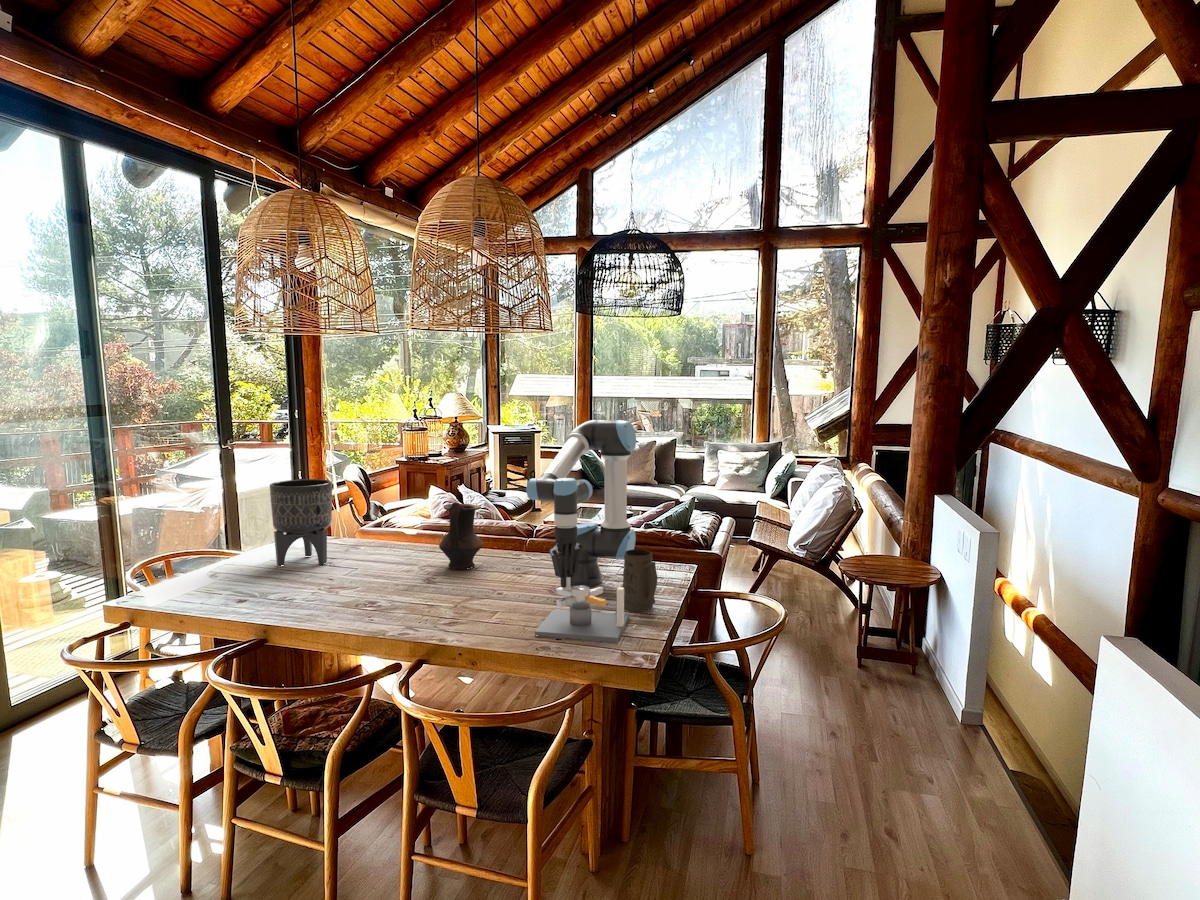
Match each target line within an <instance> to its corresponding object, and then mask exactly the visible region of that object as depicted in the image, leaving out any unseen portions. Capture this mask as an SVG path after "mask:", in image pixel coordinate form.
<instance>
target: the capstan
mask: <svg viewBox="0 0 1200 900" xmlns="http://www.w3.org/2000/svg"><path fill="white" fill-rule="evenodd" d="M590 587H591V586H583V585H579V586H571V590H568V591H567V590H564V589H562V587H561V586H560V587H556V595H560V596H562V595H563V596H562V597H563V598H561V599H557V600H556V607H558V608H563V607H565V606H569V605H570V606H571V607H572V608H574V609H587V608H589V607H590V606H591V605H595V606H599V607H605V606H607V599H606V598H602V597H597V596H598V595H602V594H603V593H604V587H602V586H597V587H594V588H590ZM564 596H566V597H564Z"/></svg>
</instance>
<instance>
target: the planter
mask: <svg viewBox="0 0 1200 900" xmlns="http://www.w3.org/2000/svg"><path fill="white" fill-rule="evenodd" d="M269 494H270V495H269V497H270V506H271V517H272V519H271V520H272V526H273V529H274V530H275V531H273V535H274V547H275V559H276V566H277V565H278V566H281V565H284V566H285V560H286V556H287V553H288V551H289V548H290V547H291V545H292V544H293V543H294V542H296V541H297V540H299V539H302V542H303V545H304V557H305V556H311V555H312V556H313V547H314V550H315V552H316V555H317V561H318V565H319V564H324V563H326V562H327V563H328V557H327V556H328V555H327V553H328V549H327V548H328V529H327V528H329V527H330V526H331V524H332V519H333V518H332V516H333V513H332V511H333V510H332V509H333V481H331V480H329V479H321V478H320V479H319V478H307V479H306V478H304V479H291V480H290V479H289V480H281V481H274V482H271V483H270V484H269ZM284 533H285V534H284ZM278 566H277V567H278Z"/></svg>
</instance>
